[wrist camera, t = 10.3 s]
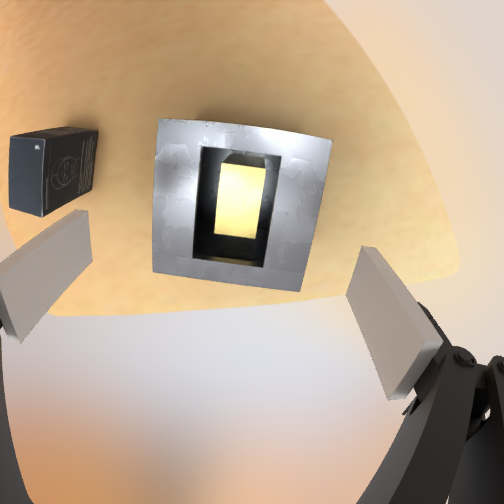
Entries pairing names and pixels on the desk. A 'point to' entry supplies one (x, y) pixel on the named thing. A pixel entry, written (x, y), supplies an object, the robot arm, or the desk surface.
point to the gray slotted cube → (206, 196)
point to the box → (50, 168)
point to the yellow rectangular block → (240, 195)
